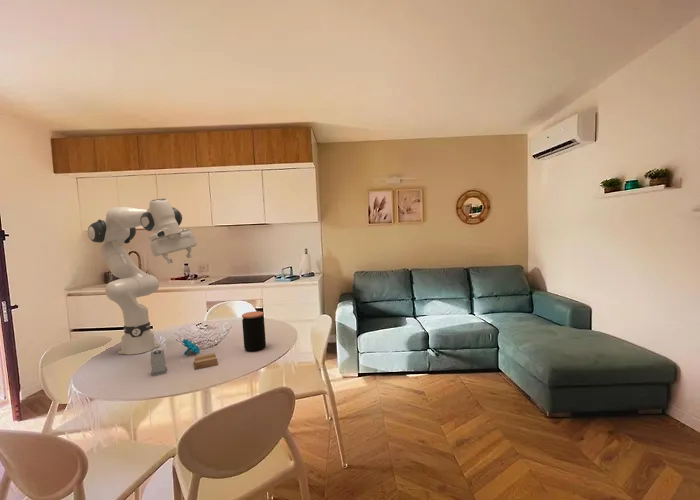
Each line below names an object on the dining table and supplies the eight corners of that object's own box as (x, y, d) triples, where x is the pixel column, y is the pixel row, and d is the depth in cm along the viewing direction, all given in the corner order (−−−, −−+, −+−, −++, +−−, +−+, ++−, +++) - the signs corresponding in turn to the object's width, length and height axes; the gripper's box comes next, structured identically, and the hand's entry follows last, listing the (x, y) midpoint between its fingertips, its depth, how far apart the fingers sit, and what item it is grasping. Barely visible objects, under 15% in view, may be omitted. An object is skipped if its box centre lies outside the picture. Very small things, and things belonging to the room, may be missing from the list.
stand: (193, 362, 166) (192, 356, 166) (216, 358, 170) (215, 352, 170) (194, 370, 157) (193, 363, 157) (218, 365, 161) (217, 358, 161)
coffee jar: (265, 343, 188) (262, 310, 186) (267, 350, 178) (264, 314, 176) (244, 347, 184) (241, 312, 183) (244, 353, 174) (242, 317, 173)
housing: (151, 371, 158) (149, 350, 157) (167, 368, 160) (165, 347, 159) (150, 376, 152) (148, 354, 151) (166, 373, 155) (164, 351, 154)
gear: (197, 353, 174) (181, 339, 173) (188, 362, 173) (173, 349, 173) (203, 348, 185) (189, 336, 184) (195, 357, 184) (181, 345, 184)
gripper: (187, 229, 176) (196, 255, 177) (145, 238, 159) (155, 267, 160) (193, 226, 172) (203, 253, 173) (151, 235, 155) (162, 265, 156)
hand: (180, 260), depth 166 cm, fingers open, 8 cm apart
